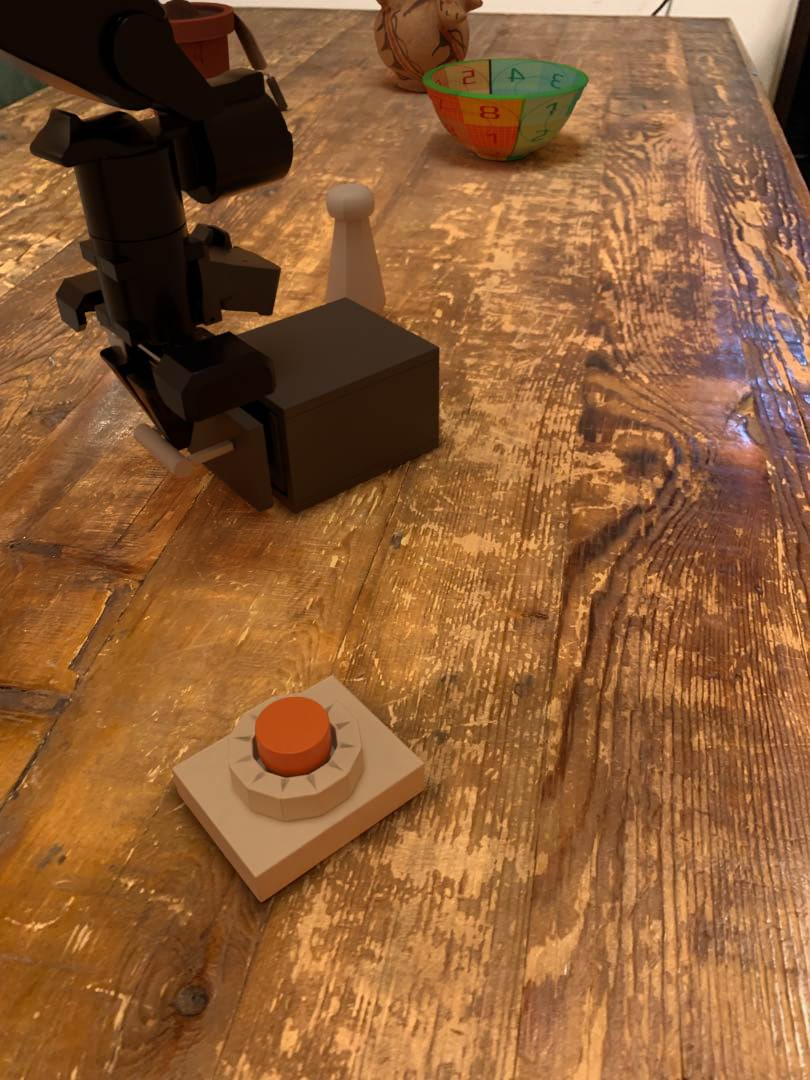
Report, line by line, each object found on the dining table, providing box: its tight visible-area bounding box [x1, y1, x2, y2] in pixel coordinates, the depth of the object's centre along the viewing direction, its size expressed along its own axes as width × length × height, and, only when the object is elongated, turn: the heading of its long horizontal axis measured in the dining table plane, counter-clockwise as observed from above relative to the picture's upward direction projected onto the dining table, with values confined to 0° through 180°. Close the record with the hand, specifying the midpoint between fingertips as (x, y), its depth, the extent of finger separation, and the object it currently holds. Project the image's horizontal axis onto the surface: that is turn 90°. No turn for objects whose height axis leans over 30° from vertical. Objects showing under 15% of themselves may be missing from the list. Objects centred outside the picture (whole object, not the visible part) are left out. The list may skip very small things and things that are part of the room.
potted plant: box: [152, 0, 288, 117], centre depth 139 cm, size 18×22×25 cm
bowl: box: [422, 57, 590, 162], centre depth 130 cm, size 22×22×10 cm
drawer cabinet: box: [236, 297, 441, 514], centre depth 72 cm, size 14×12×9 cm
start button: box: [255, 697, 332, 776], centre depth 46 cm, size 4×4×2 cm
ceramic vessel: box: [373, 0, 484, 93], centre depth 156 cm, size 18×19×25 cm
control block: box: [171, 674, 425, 903], centre depth 48 cm, size 10×8×4 cm
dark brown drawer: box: [132, 400, 287, 514], centre depth 69 cm, size 17×10×7 cm, turn 129°
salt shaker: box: [324, 183, 387, 316], centre depth 88 cm, size 6×6×13 cm
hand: (180, 447), depth 66 cm, fingers closed, pressing on dark brown drawer
